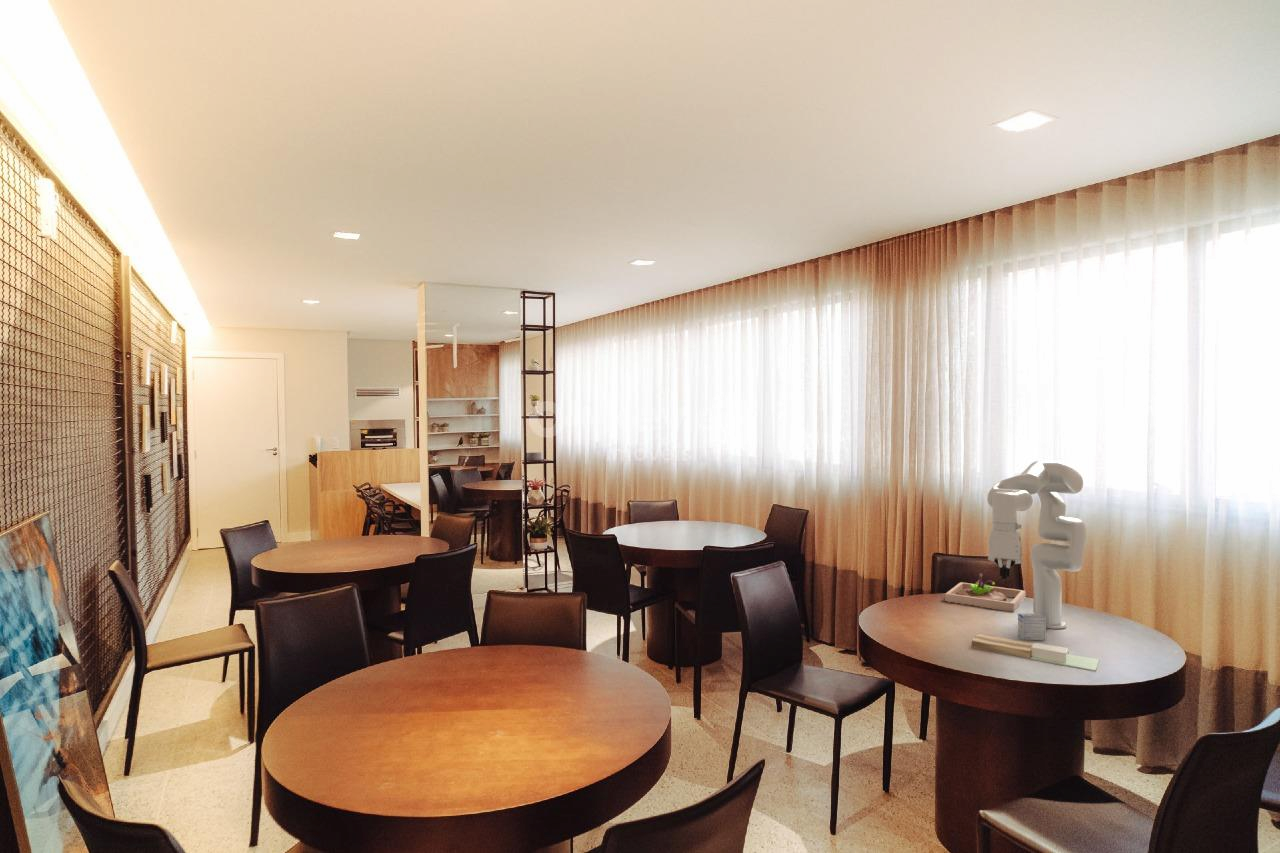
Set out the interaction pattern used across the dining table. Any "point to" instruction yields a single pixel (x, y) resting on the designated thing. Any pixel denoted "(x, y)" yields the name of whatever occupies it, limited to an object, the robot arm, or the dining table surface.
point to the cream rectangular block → (1050, 652)
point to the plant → (982, 591)
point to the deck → (1002, 645)
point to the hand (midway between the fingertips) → (1005, 578)
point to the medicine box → (1031, 626)
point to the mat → (1074, 662)
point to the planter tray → (987, 603)
